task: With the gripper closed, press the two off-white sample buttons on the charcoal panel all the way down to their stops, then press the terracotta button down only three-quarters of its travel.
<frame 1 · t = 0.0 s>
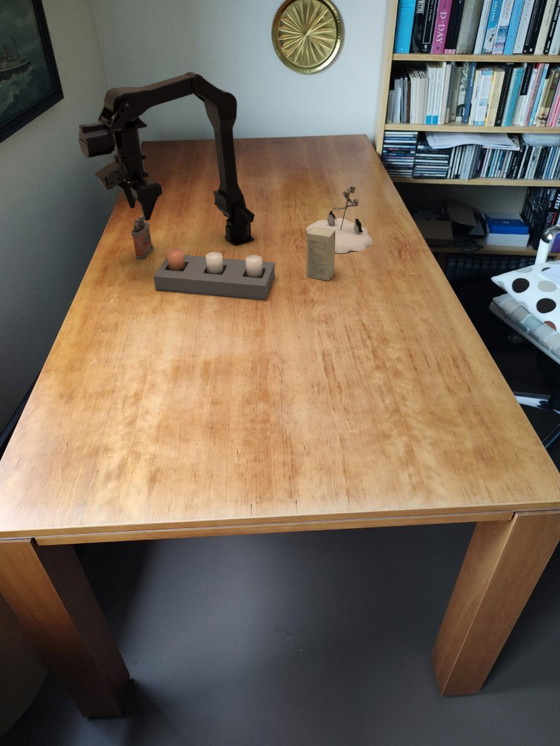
hand: (139, 214, 137), 15 cm above the table, fingers open, 9 cm apart
button panel: (216, 283, 140), on the table
terracotta button: (175, 259, 137), point 6 cm above the table, slide at 0.0 cm
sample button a: (254, 266, 135), point 6 cm above the table, slide at 0.0 cm
skincare box: (319, 275, 143), on the table
figurine: (338, 239, 160), on the table
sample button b: (214, 263, 136), point 6 cm above the table, slide at 0.0 cm
lighter: (144, 253, 153), on the table
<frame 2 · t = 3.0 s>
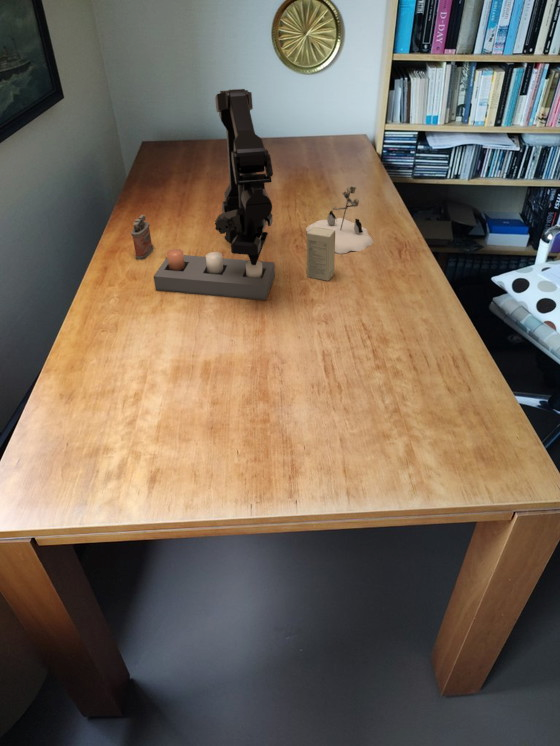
hand: (253, 264, 134), 6 cm above the table, fingers closed, pressing on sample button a
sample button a: (254, 271, 136), point 4 cm above the table, slide at 1.5 cm, touching gripper
everything else where it was.
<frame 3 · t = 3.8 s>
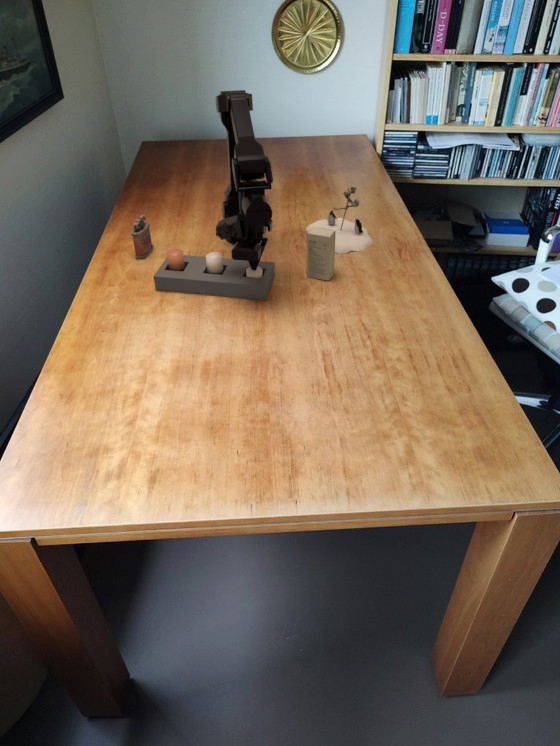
hand: (254, 269, 135), 5 cm above the table, fingers closed
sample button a: (254, 277, 137), point 3 cm above the table, slide at 3.0 cm
everything else where it was.
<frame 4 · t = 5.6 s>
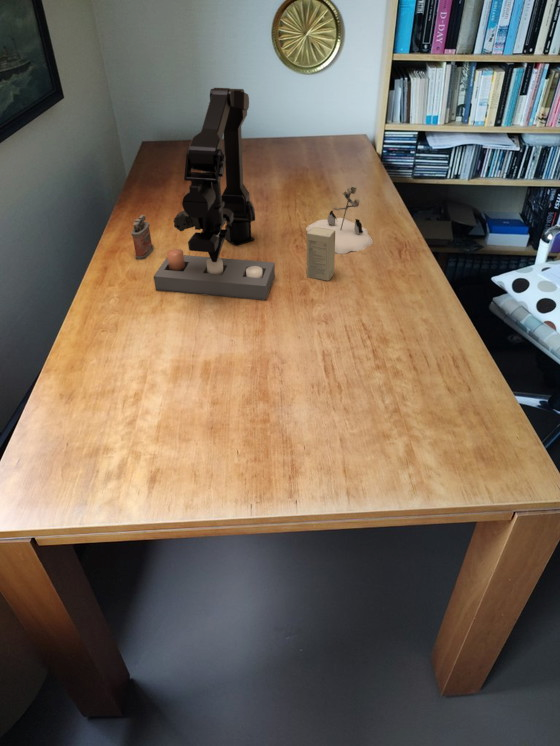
hand: (214, 261, 136), 6 cm above the table, fingers closed, pressing on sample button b
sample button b: (215, 268, 137), point 4 cm above the table, slide at 1.6 cm, touching gripper
everything else where it was.
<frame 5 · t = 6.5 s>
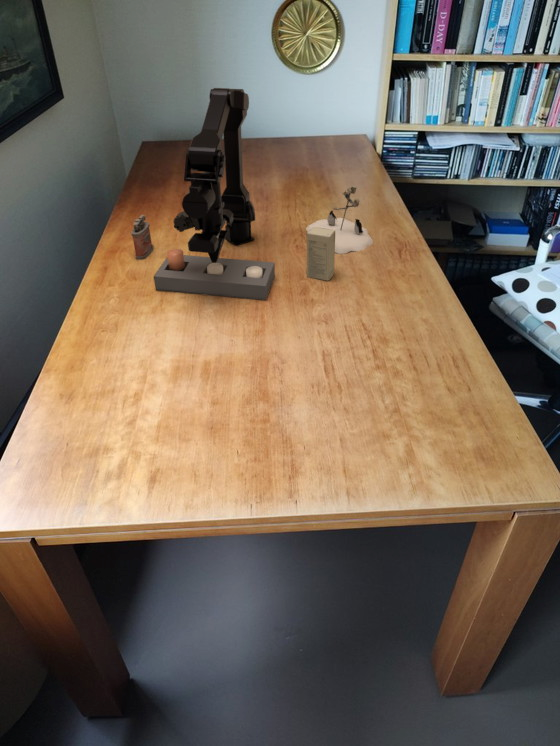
hand: (214, 262, 136), 6 cm above the table, fingers closed
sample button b: (215, 273, 138), point 3 cm above the table, slide at 3.0 cm
everything else where it was.
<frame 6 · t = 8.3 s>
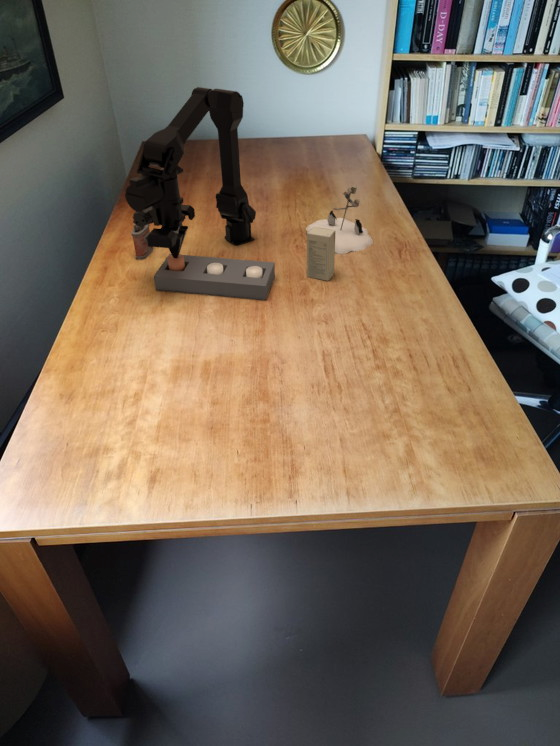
hand: (175, 257, 137), 6 cm above the table, fingers closed, pressing on terracotta button
terracotta button: (176, 264, 138), point 4 cm above the table, slide at 1.4 cm, touching gripper
everything else where it was.
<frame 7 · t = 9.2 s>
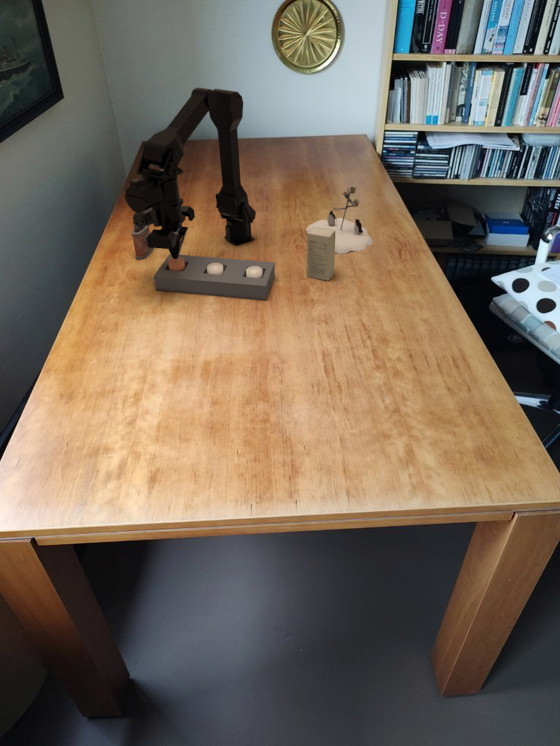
hand: (175, 258, 137), 6 cm above the table, fingers closed
terracotta button: (177, 267, 139), point 4 cm above the table, slide at 2.2 cm
everything else where it was.
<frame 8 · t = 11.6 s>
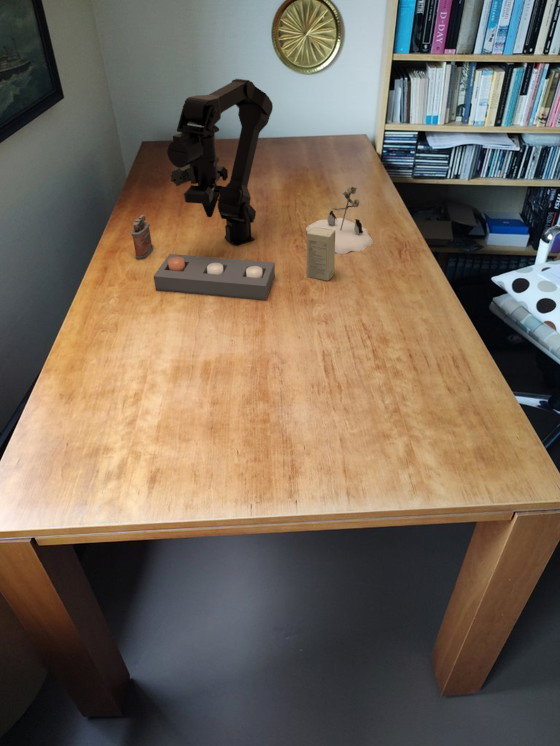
hand: (209, 216, 142), 12 cm above the table, fingers closed
nothing on the table moved.
at the end: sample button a slide at 3.0 cm; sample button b slide at 3.0 cm; terracotta button slide at 2.2 cm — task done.
